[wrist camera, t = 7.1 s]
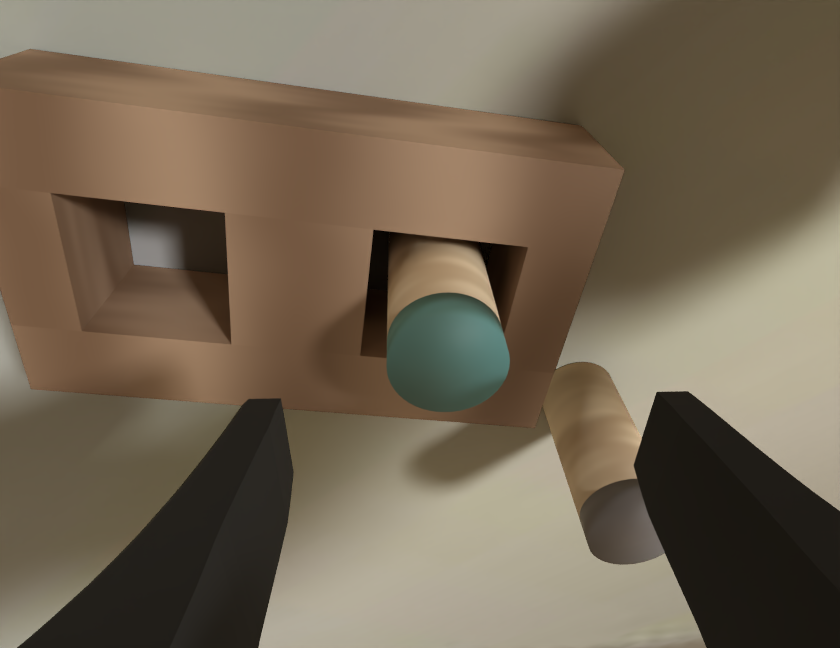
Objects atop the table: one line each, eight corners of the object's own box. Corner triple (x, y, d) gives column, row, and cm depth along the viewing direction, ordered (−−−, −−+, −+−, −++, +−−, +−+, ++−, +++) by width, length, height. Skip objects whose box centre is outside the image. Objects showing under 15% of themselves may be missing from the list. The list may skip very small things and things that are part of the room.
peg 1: (473, 193, 19) (509, 308, 13) (477, 273, 21) (510, 406, 15) (383, 203, 19) (378, 322, 13) (394, 281, 21) (394, 417, 15)
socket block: (581, 125, 18) (624, 170, 14) (514, 356, 23) (534, 427, 19) (30, 49, 16) (-65, 79, 13) (88, 317, 21) (30, 389, 18)
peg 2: (621, 365, 23) (699, 507, 17) (599, 419, 25) (663, 566, 19) (550, 359, 23) (605, 502, 17) (532, 414, 25) (576, 562, 19)
